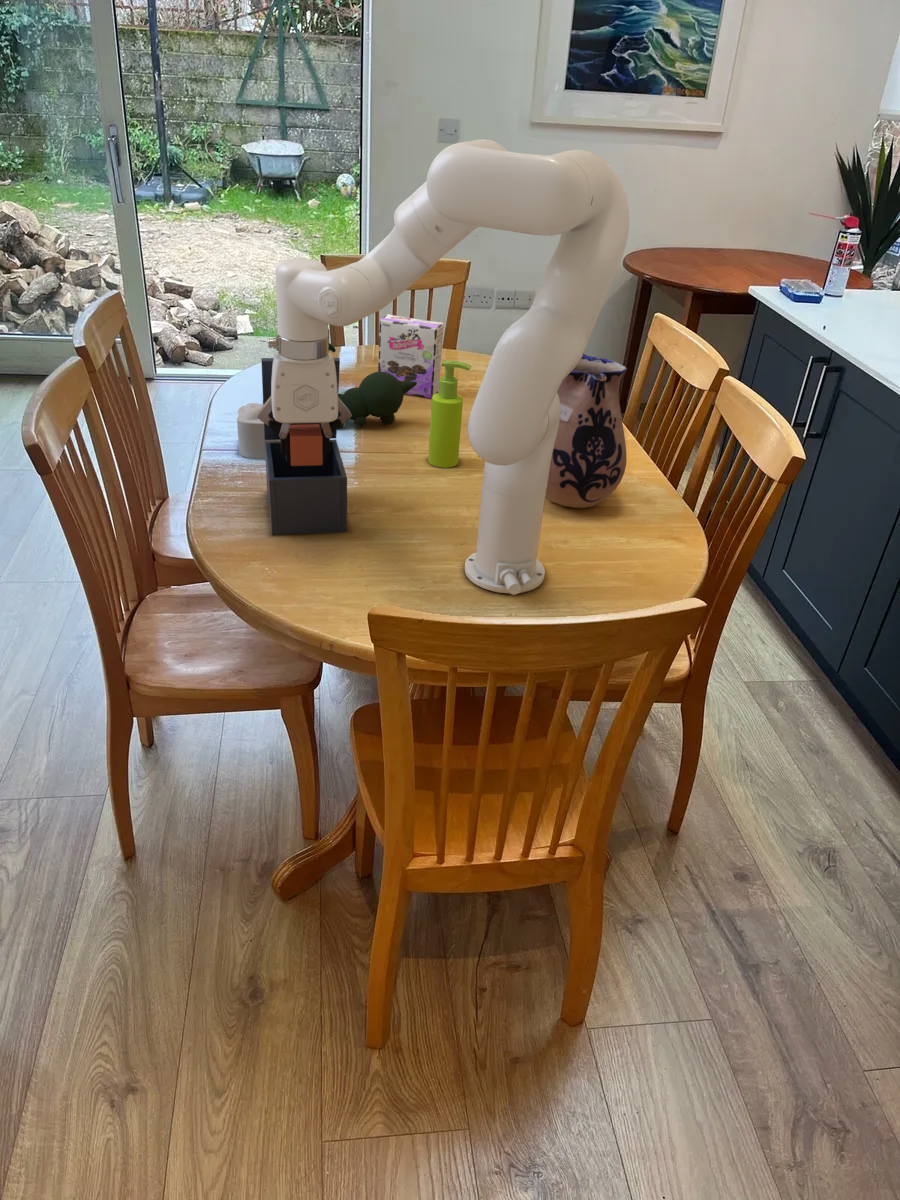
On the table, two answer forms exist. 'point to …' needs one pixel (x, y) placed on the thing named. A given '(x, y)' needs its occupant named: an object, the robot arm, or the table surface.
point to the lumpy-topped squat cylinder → (251, 432)
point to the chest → (306, 493)
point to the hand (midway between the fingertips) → (305, 457)
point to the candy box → (412, 352)
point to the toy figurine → (375, 397)
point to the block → (305, 445)
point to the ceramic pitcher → (588, 435)
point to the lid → (266, 386)
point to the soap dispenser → (446, 419)
